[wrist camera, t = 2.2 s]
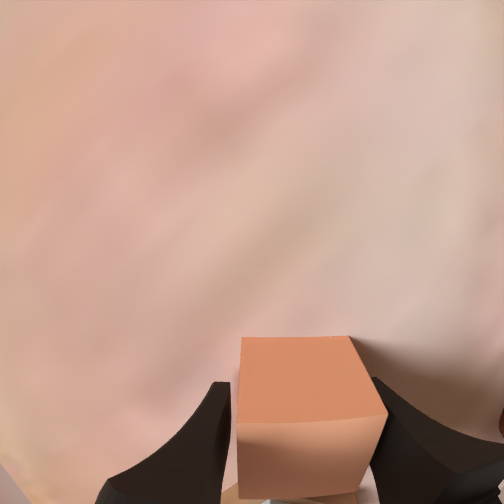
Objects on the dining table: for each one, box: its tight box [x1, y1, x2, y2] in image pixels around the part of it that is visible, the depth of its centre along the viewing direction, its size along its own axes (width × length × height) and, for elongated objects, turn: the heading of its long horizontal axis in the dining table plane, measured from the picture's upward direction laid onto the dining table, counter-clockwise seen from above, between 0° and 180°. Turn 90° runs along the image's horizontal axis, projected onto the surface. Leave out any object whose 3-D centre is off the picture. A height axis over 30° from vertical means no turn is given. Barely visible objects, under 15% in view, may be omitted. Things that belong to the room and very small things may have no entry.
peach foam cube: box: [236, 336, 388, 499], centre depth 11 cm, size 4×4×5 cm
